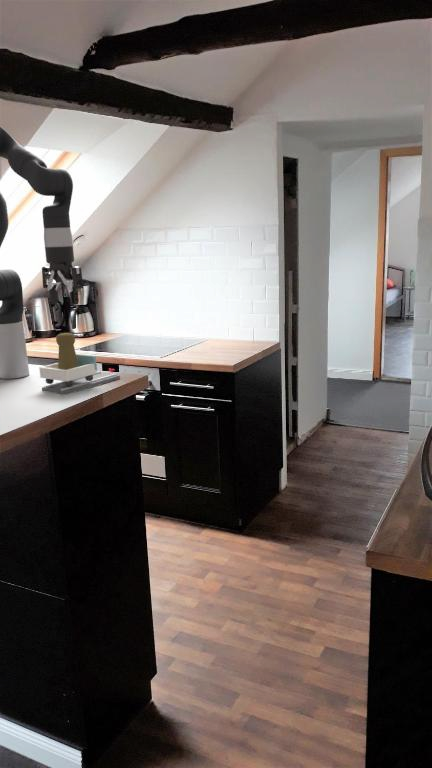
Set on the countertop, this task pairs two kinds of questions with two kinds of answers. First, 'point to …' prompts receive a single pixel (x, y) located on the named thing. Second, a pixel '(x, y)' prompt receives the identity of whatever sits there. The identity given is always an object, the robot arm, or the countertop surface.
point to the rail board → (80, 383)
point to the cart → (70, 371)
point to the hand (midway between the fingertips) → (64, 304)
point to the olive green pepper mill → (66, 351)
